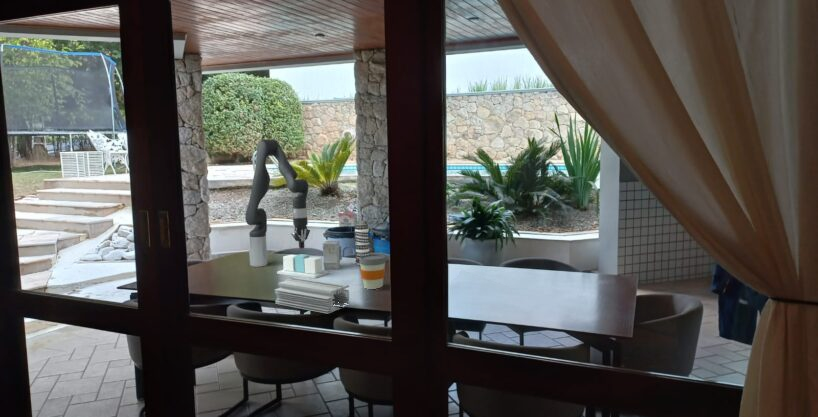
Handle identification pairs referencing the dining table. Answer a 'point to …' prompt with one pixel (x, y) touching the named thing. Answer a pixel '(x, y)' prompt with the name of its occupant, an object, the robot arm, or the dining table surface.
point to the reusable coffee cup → (372, 270)
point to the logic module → (300, 262)
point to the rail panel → (311, 267)
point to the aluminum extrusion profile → (312, 294)
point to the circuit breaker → (331, 255)
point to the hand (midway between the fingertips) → (301, 248)
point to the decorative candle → (361, 239)
